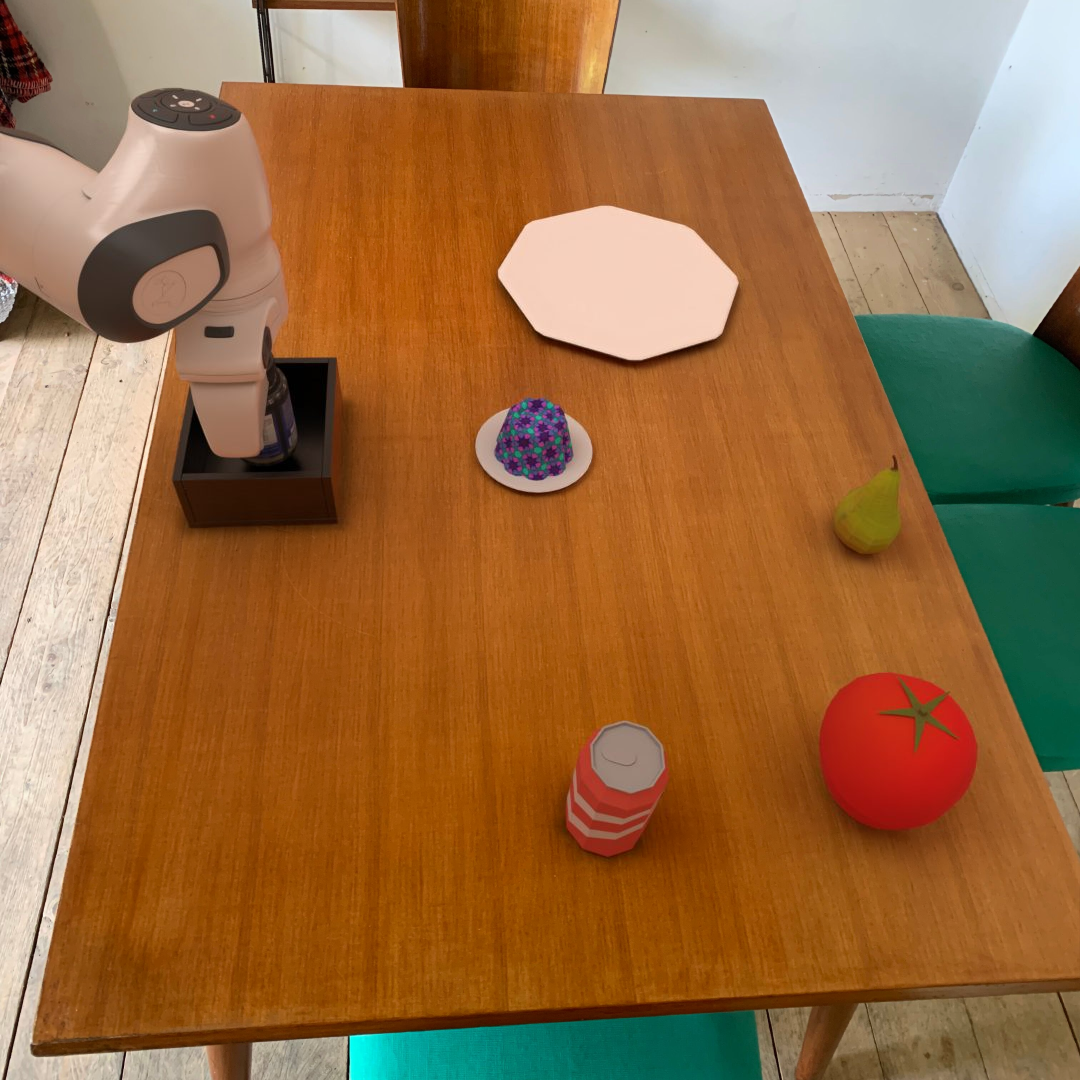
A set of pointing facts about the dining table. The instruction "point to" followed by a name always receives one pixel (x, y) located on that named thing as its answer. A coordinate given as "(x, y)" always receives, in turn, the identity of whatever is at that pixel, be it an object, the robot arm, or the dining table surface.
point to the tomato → (896, 751)
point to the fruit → (870, 513)
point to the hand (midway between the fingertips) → (258, 415)
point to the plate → (618, 283)
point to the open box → (276, 491)
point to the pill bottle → (276, 421)
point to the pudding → (534, 447)
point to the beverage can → (615, 787)
